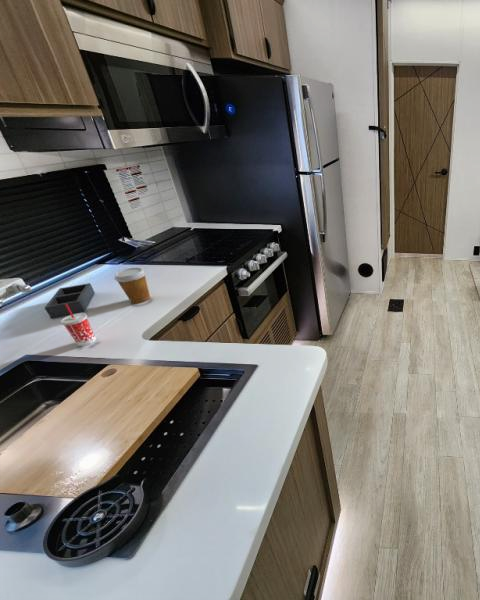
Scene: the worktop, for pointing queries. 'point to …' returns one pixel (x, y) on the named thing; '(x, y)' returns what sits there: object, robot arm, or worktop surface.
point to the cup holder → (70, 300)
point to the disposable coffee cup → (133, 284)
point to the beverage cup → (79, 328)
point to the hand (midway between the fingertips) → (15, 295)
